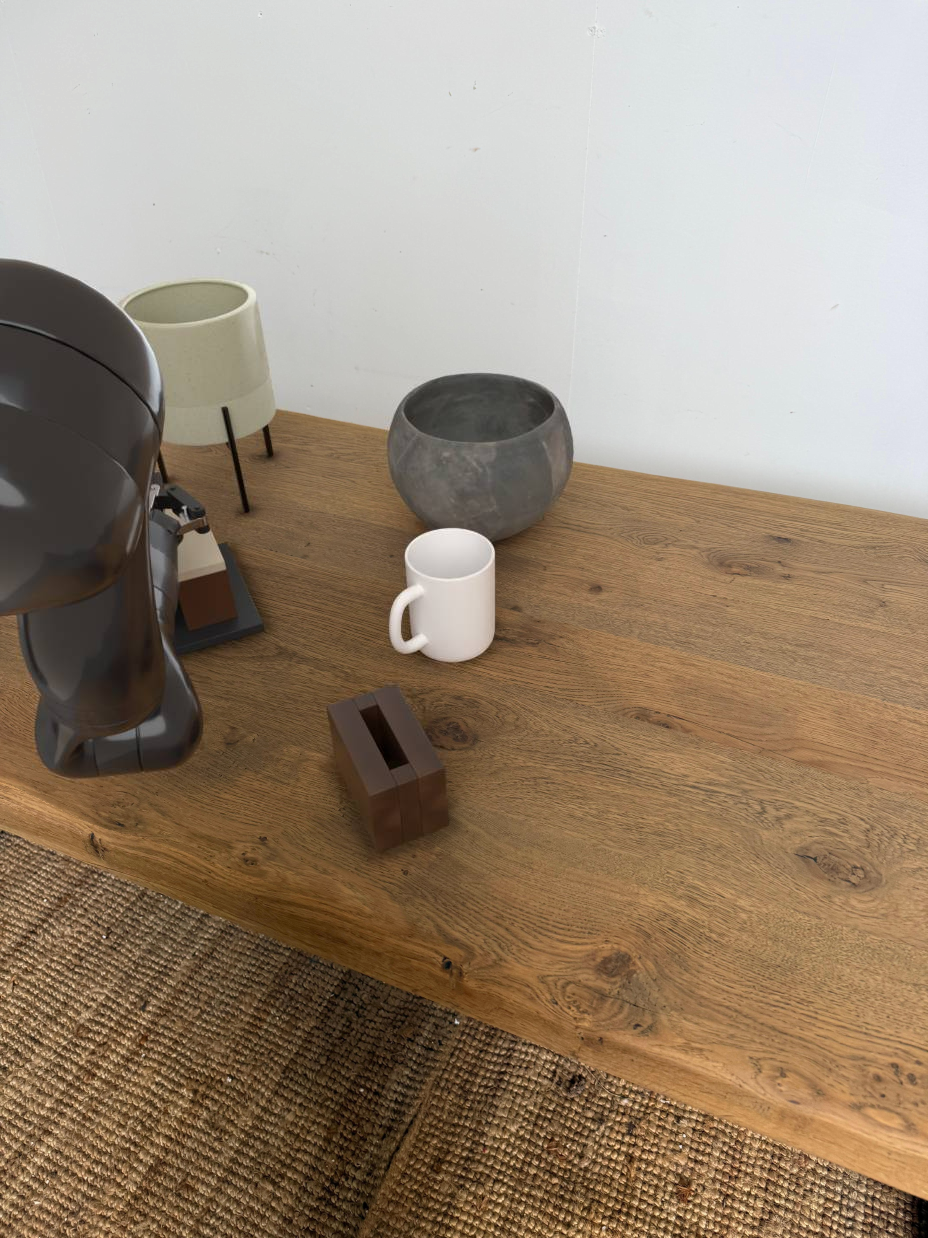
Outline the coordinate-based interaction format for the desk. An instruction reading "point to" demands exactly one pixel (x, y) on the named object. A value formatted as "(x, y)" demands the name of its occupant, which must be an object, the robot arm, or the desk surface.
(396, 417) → the bowl
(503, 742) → the desk surface
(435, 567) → the cup
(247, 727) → the desk surface
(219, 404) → the planter
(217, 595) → the cake
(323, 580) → the desk surface
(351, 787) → the knife block
